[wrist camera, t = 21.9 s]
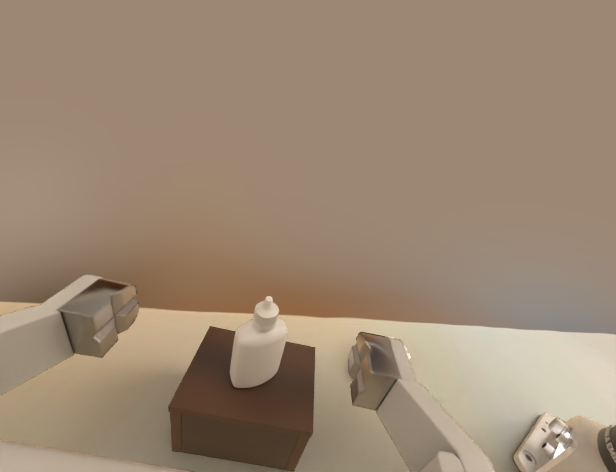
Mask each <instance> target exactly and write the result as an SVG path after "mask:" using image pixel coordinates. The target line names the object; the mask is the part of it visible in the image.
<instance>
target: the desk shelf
mask: <svg viewBox="0 0 616 472" xmlns="http://www.w3.org/2000/svg"><path fill="white" fill-rule="evenodd" d="M235 332H236V331H231V330H226V329H221V328H216V327H211V326H210V328H209V329H208V331H207V333H206V335H205V337H204V339H203V341H202V343H201V345H200V347H199V349H198V351H197V353H196V355H195V356H194V358H193V360H192V362H191V364H190V366H189V368H188V370H187V372H186V374H185V376H184V378H183V380H182V382H181V383H180V385H179V387H178V389H177V391H176V393H175V395H174V397H173V399H172V401H171V403H170V405H169V407H168V408H169V412H170V421H171V439H172V450H173V451H179V452H185V453H191V454H197V455H203V456H209V457H214V458H220V459H226V460H232V461H238V462H244V463H250V464H256V465H261V466H267V467H273V468H279V469H285V470H290V471H294V470H295V468H296V465H297V463H298V461H299V459H300V457H301V455H302V453H303V451H304V448H305V446H306V444H307V442H308V440H309V438H310V437H311V436H312V433H313V409H314V372H315V347H310V346H305V345H300V344H295V343H290V342H286V343H285V346H284V350H283V354H282V358H281V361H280V365H279V368H278V371H277V373H276V374H275V375H274V376H273V377H272V378H271V379H269V380H268V381H266V382H265V383H263V384H260V385H258V386H255V387H250V388H236V387H234V386H233V384H232V381H231V377H230V365H231V358H232V350H233V343H234V337H235Z"/></svg>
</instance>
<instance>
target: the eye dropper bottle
mask: <svg viewBox="0 0 616 472" xmlns="http://www.w3.org/2000/svg"><path fill="white" fill-rule="evenodd" d="M278 313H279V309H278V306H277V305H276V304H275V303H273V298H272V297H270V296H268V297H266V299H265V301H262V302H260V303H258V304H257V305H256V307H255V312H254V317H253V319H251V320H249V321H247V322H246V323H244V324H243V325H241V326H240V327H239V328H238V329H237V330H236V332H235V337H234V343H233V350H232V358H231V365H230V377H231V381H232V384H233V386H234V387H236V388H250V387H255V386H258V385H260V384H263V383H265V382H266V381H268V380H269V379H271V378H272V377H273V376H274V375H275V374H276V373H277V371H278V368H279V365H280V361H281V358H282V354H283V350H284V346H285V343H286V339H287V335H288V330H287V327H286V325H285V323H284V321H283V320H282V319H281V318H278Z"/></svg>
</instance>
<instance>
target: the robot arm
mask: <svg viewBox="0 0 616 472" xmlns="http://www.w3.org/2000/svg"><path fill="white" fill-rule="evenodd" d="M136 294H137V289H136V286H135V285H133V284H129V283H125V282H121V281H117V280H112V279H108V278H103V277H98V276H94V275H90V274H89V275H84V276H82V277H81V278H79V279H77V280H76V281H75V282H73V283H72V284H70V285H69V286H67V287H66V288H64V289H63V290H61V291H60V292H58V293H57V294H55V295H54V296H52V297H51V298H50V299H48V300H47V301H45V302H44V303H42V304H41V305H39V306H38V307H34V306H30V307H27V308H24V309H21V310H18V311H14V312H11V313H8V314H5V315H1V316H0V396H1V395H3V394H4V393H6V392H8V391H10V390H12V389H13V388H15V387H17V386H19V385H21V384H22V383H24V382H26V381H28V380H30V379H31V378H33V377H35V376H37V375H39V374H40V373H42V372H44V371H46V370H48V369H49V368H51V367H53V366H55V365H57V364H58V363H60V362H62V361H64V360H66V359H67V358H69V357H71V356H73V355H74V353H75V354H81V355H88V356H94V357H100V358H102V357H103V356H104V355H105V354H106V353H107V352H108V351H109V350H110V349H111V347H112V346H113V345H114V344H115V343H116V342H117V341H118V334H119V333H121V332H123V331H125V330H127V329H128V328H129V327H130V326H131V325H132V324H133V323H134V321H135V319H136V317H137V315H138V310H139V305H138V304H139V303H138V302H137V300H136V299H135V298H134V296H135V295H136ZM356 340H357V344H356V345H354V346H353V347H352V349H351V351H350V355H349V360H348V368H349V374H350V375H351V377H352V378H353V381H352V383H351V385H350V388H351V396H352V405H353V406H357V407H362V408H366V409H371V410H375V411H376V413H377V415H378V416H379V418H380V420H381V422H382V423H383V425H384V427H385V428H386V430H387V432H388V434H389V435H390V437H391V439H392V441H393V442H394V444H395V446H396V447H397V449H398V451H399V453H400V454H401V456H402V458H403V460H404V461H405V463H406V465H407V466H408V468H409V470H410V472H495V470H494V468H493V465H492V463H491V461H490V459H489V458H488V457H487V456H486V455H485V453H484V452H483V451H482V450H481V449H480V448H479V447H478V446H477V445H476V443H475V442H474V441H473V440H472V439H471V438H470V437H469V436H468V435H467V434H466V432H465V431H464V430H463V429H462V428H461V427H460V426H459V425H458V424H457V422H456V421H455V420H454V419H453V418H452V417H451V416H450V415H449V414H448V413H447V411H446V410H445V409H444V408H443V407H442V406H441V405H440V404H439V403H438V401H437V400H436V399H435V398H434V397H433V396H432V395H431V394H430V393H429V392H428V390H427V389H426V388H425V387H424V386H423V385H422V384H420V383H417V380H416V378H415V375H414V372H413V369H412V367H411V364H410V361H409V358H408V356H407V353H406V350H405V347H404V345H403V342H402V341H401V340H400V339H395V338H390V337H385V336H380V335H375V334H370V333H365V332H360V333H359V334H358V336H357V338H356ZM514 461H515V463H516V465H517V466H518V468H519V470H520V471H521V472H616V424H613V425H610V426H609V427H606V426H604V425H602V424H600V423H598V422H596V421H594V420H591V419H589V418H586V417H583V416H575V417H573V418H571V419H570V420H568V421H567V422H565V421H563V420H561V419H560V418H558V417H555V416H553V415H550V414H548V413H544V414H542V415H541V416H540V417H539V418H538V420H537V421H536V423H535V424H534V426H533V427H532V429H531V430H530V432H529V433H528V435H527V436H526V438H525V439H524V441H523V442H522V444H521V445H520V447H519V448H518V450H517V451H516V453H515V454H514ZM0 472H193V471H187V470H181V469H175V468H169V467H163V466H157V465H151V464H145V463H139V462H133V461H127V460H121V459H115V458H109V457H103V456H97V455H91V454H85V453H79V452H73V451H67V450H61V449H55V448H49V447H43V446H37V445H31V444H25V443H19V442H13V441H7V440H1V439H0Z"/></svg>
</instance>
